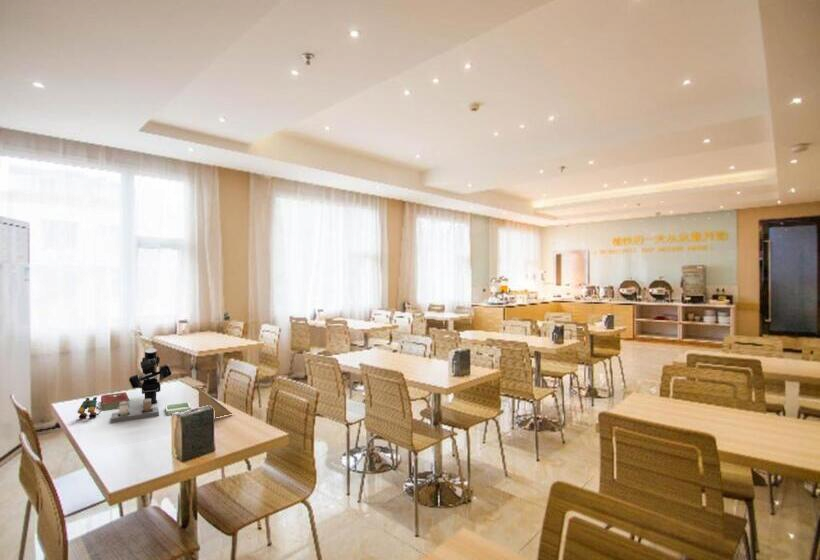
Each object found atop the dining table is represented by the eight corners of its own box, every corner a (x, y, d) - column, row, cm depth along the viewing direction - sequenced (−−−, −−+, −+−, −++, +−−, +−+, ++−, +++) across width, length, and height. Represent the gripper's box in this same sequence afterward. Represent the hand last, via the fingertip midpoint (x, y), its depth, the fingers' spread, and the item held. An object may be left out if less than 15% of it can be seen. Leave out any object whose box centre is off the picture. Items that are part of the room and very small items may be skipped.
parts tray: (165, 409, 228) (165, 405, 228) (188, 406, 234) (188, 402, 234) (166, 416, 218) (166, 411, 218) (191, 412, 224) (191, 407, 224)
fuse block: (112, 418, 214) (112, 413, 214) (158, 411, 225) (158, 406, 225) (111, 423, 206) (111, 418, 206) (158, 416, 217) (158, 411, 217)
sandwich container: (235, 415, 220) (235, 386, 220) (203, 422, 210) (203, 391, 210) (229, 411, 226) (229, 383, 226) (198, 417, 216) (198, 388, 216)
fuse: (119, 417, 213) (119, 401, 213) (128, 416, 215) (128, 400, 215) (119, 419, 210) (119, 403, 210) (128, 418, 212) (128, 402, 212)
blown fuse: (143, 414, 219) (143, 398, 219) (151, 413, 221) (151, 397, 221) (143, 416, 216) (143, 400, 216) (151, 415, 218) (151, 399, 218)
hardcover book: (102, 411, 227) (102, 403, 227) (101, 402, 243) (101, 395, 243) (129, 407, 234) (129, 399, 234) (126, 398, 251) (126, 391, 251)
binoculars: (78, 423, 213) (73, 409, 208) (84, 408, 220) (79, 395, 215) (99, 421, 216) (95, 408, 211) (105, 407, 223) (101, 394, 218)
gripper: (125, 364, 224) (124, 378, 212) (164, 351, 232) (165, 363, 220) (133, 381, 229) (132, 396, 216) (171, 367, 237) (172, 381, 224)
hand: (150, 383), depth 219 cm, fingers open, 9 cm apart
